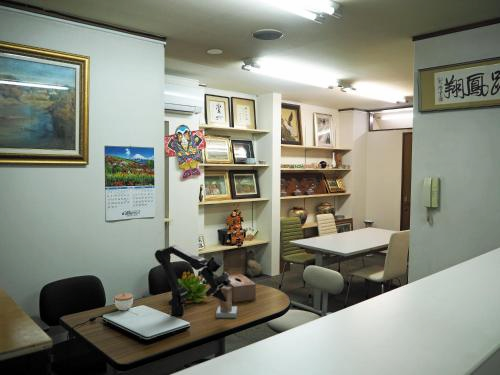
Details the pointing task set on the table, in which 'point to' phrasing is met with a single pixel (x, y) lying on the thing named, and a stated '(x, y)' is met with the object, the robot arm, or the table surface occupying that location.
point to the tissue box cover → (242, 288)
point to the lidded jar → (123, 301)
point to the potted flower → (193, 287)
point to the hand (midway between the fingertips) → (228, 300)
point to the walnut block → (227, 306)
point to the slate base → (229, 315)
